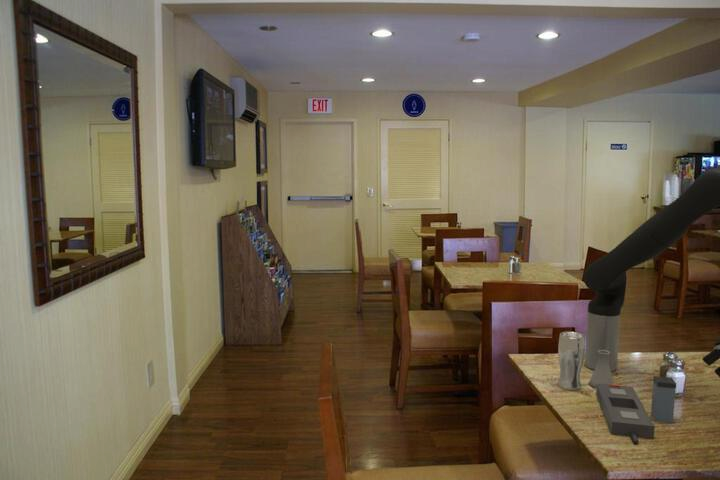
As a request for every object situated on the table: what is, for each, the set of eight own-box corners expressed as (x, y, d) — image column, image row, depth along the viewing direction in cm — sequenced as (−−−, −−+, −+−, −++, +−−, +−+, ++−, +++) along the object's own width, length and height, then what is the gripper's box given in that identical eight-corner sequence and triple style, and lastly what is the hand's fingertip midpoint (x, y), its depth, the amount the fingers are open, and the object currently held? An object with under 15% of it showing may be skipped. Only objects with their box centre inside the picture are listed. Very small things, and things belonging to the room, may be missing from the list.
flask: (618, 391, 158) (620, 356, 157) (590, 389, 159) (592, 354, 158) (612, 381, 165) (614, 348, 164) (585, 379, 166) (587, 346, 165)
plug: (650, 414, 144) (653, 376, 142) (668, 415, 143) (671, 377, 141) (654, 421, 140) (657, 382, 138) (673, 423, 139) (676, 383, 137)
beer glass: (579, 392, 157) (582, 340, 155) (553, 387, 160) (556, 336, 158) (584, 384, 163) (587, 333, 161) (559, 379, 166) (562, 329, 164)
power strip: (596, 393, 156) (596, 381, 156) (631, 397, 154) (632, 384, 153) (614, 442, 129) (615, 427, 129) (658, 447, 127) (659, 432, 126)
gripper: (746, 306, 140) (690, 347, 144) (772, 322, 126) (709, 367, 130) (768, 329, 139) (712, 369, 144) (797, 347, 126) (733, 391, 130)
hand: (711, 368), depth 137 cm, fingers open, 8 cm apart
